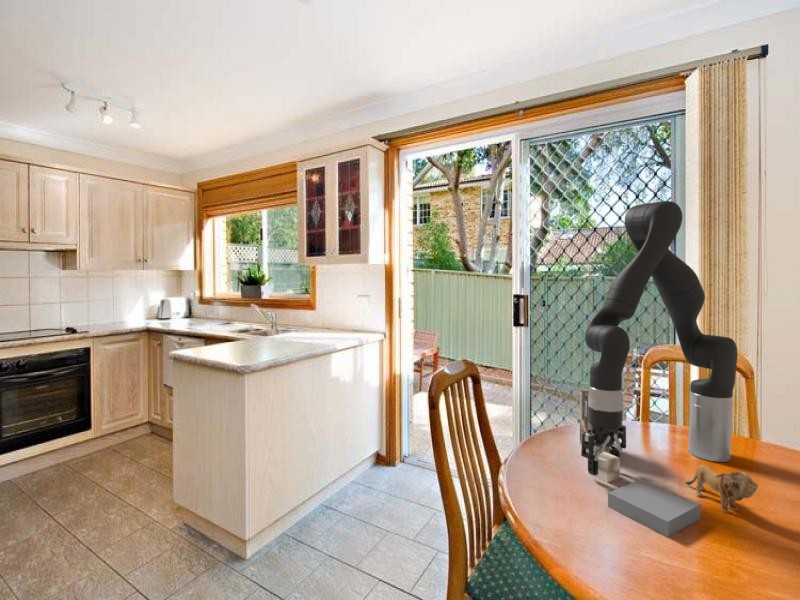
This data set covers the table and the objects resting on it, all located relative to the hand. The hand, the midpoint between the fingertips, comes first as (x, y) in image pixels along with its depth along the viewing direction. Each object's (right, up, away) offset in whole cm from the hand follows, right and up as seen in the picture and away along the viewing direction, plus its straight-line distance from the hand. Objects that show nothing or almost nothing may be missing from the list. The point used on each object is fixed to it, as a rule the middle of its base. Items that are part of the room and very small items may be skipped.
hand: (603, 470), depth 100 cm
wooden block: (0, -2, 0) cm, 2 cm away
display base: (+2, -2, -16) cm, 16 cm away
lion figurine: (+19, -2, -12) cm, 23 cm away
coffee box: (+5, -1, +16) cm, 16 cm away
